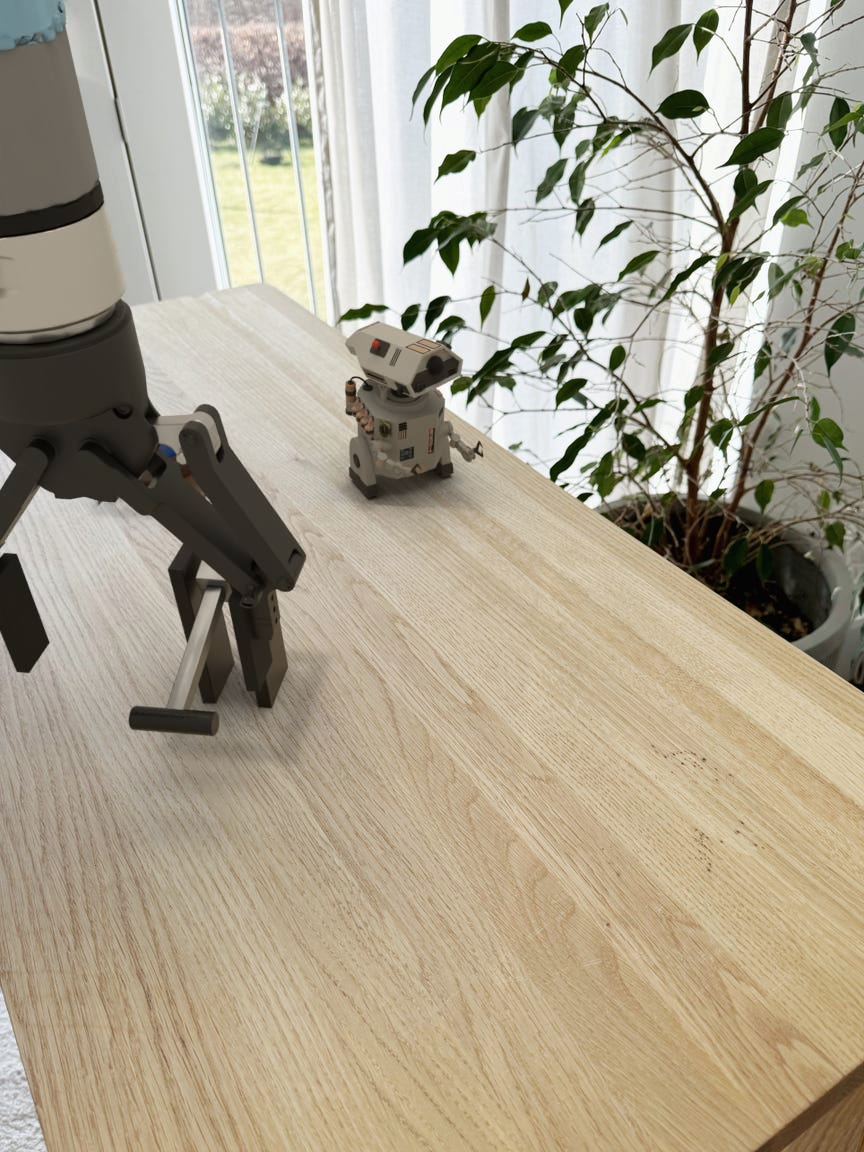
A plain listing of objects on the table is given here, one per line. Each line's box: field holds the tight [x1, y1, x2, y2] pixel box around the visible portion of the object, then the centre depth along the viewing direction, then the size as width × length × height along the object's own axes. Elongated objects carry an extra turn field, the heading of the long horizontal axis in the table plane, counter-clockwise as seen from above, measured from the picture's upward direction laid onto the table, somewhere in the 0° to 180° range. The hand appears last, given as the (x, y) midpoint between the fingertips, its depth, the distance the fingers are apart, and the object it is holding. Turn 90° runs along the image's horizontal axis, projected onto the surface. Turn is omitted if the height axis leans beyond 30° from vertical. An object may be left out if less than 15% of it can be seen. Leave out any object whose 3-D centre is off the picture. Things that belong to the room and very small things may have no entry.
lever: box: [128, 560, 233, 737], centre depth 62 cm, size 13×5×2 cm, turn 173°
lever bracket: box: [167, 543, 289, 709], centre depth 68 cm, size 10×8×13 cm
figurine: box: [344, 320, 484, 499], centre depth 89 cm, size 9×12×15 cm
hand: (145, 667), depth 58 cm, fingers open, 13 cm apart
